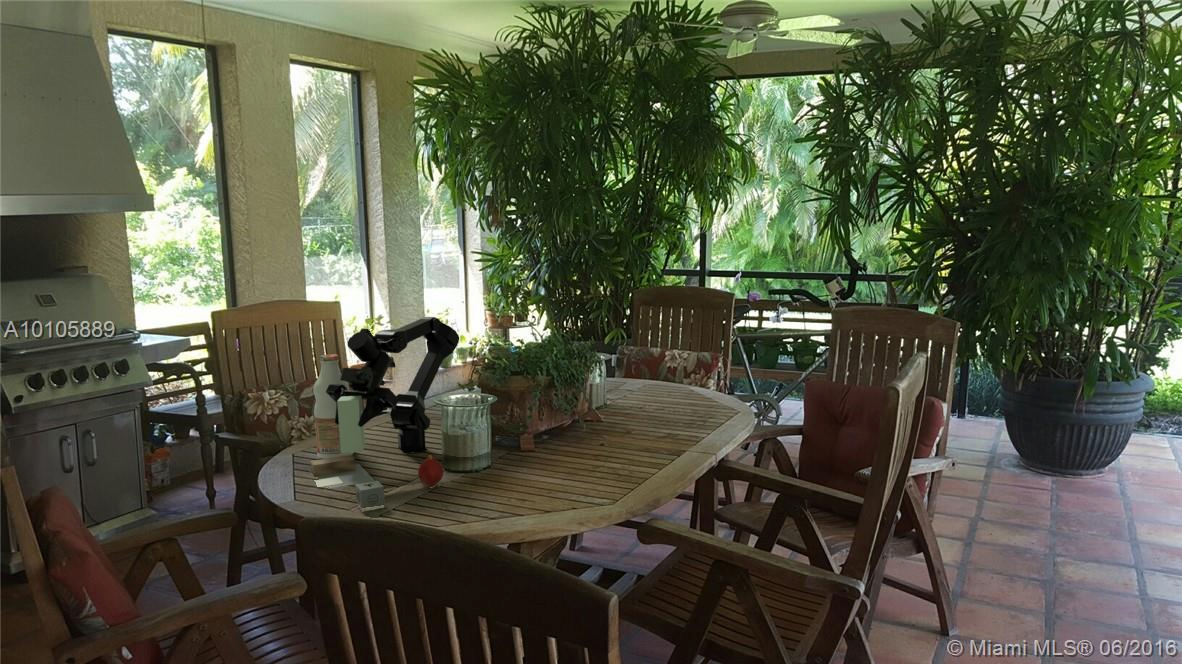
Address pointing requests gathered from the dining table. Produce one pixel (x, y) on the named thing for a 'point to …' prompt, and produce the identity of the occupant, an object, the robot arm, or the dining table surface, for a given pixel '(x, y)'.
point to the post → (350, 424)
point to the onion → (430, 471)
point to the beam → (332, 465)
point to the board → (344, 478)
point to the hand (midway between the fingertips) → (347, 424)
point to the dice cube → (370, 494)
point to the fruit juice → (327, 409)
